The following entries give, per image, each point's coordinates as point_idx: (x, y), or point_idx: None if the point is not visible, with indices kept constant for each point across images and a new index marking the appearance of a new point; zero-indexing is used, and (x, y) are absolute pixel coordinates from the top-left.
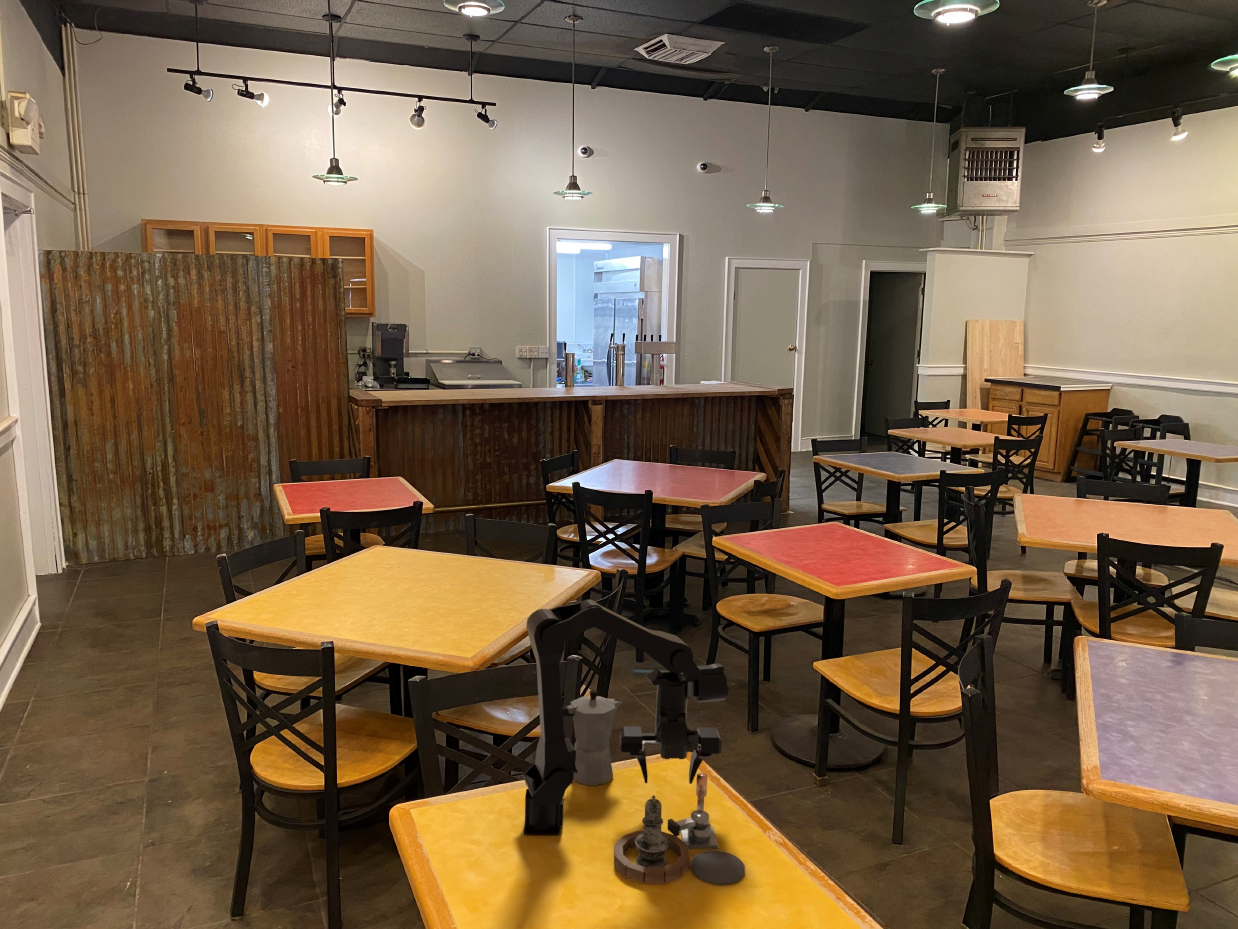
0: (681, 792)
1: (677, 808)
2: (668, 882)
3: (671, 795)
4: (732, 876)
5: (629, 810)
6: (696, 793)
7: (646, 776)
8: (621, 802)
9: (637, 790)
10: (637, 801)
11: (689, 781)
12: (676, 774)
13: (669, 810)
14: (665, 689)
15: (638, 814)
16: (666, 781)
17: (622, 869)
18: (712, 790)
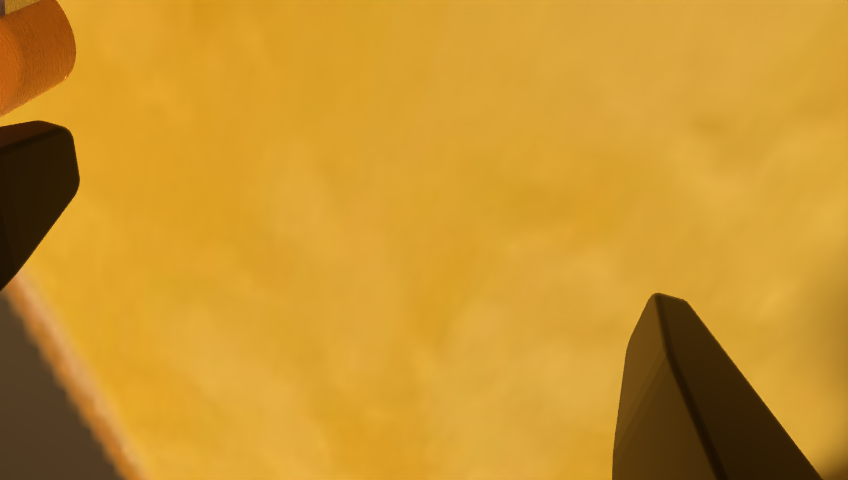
0: (262, 280)
1: (336, 68)
2: None
3: (345, 266)
4: None
5: (827, 147)
6: (54, 31)
7: (691, 364)
8: (823, 291)
9: (590, 395)
10: (663, 265)
11: (53, 153)
12: (264, 458)
13: (419, 51)
14: None
15: (773, 50)
16: (342, 420)
17: None
18: (44, 242)
